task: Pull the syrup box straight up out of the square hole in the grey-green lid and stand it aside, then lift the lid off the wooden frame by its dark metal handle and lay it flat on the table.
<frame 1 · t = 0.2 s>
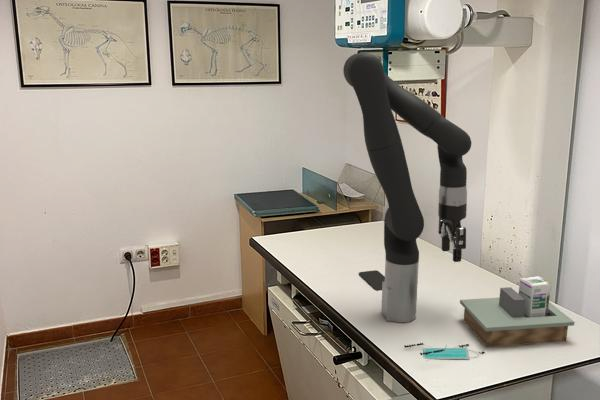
hand: (451, 256, 168), 18 cm above the table, tool pointing down, fingers open, 8 cm apart
phone: (376, 282, 196), on the table
lid: (514, 313, 161), point 5 cm above the table, touching wooden frame
surgical mask: (443, 355, 151), on the table
syrup box: (530, 330, 163), resting in wooden frame
wooden frame: (513, 330, 162), on the table
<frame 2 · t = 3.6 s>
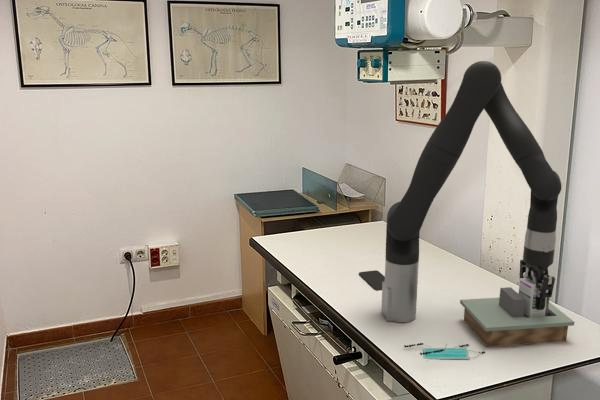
hand: (533, 303, 161), 8 cm above the table, tool pointing down, fingers closed on syrup box, 6 cm apart
syrup box: (530, 330, 163), resting in wooden frame, touching gripper
everything else where it was.
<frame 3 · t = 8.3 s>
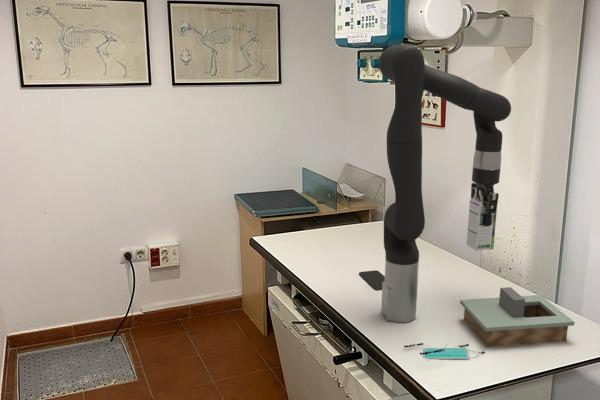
hand: (481, 222, 173), 25 cm above the table, tool pointing down, fingers closed on syrup box, 6 cm apart
syrup box: (479, 247, 175), point 17 cm above the table, touching gripper
everything else where it was.
when the fingers open (9 cm above the table, at t = 13.4 s): syrup box drops 1 cm, on the table.
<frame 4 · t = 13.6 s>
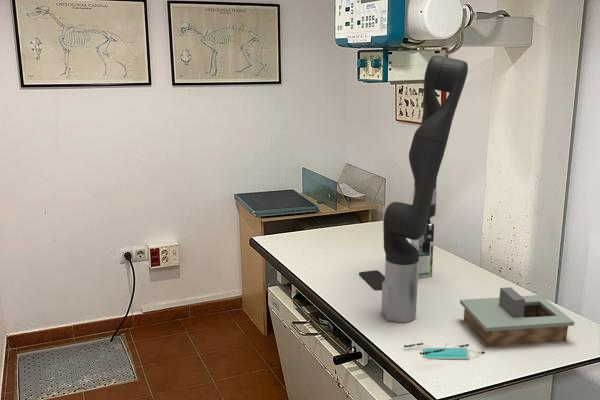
hand: (421, 248, 198), 10 cm above the table, tool pointing down, fingers open, 8 cm apart
syrup box: (420, 275, 201), on the table
everything else where it was.
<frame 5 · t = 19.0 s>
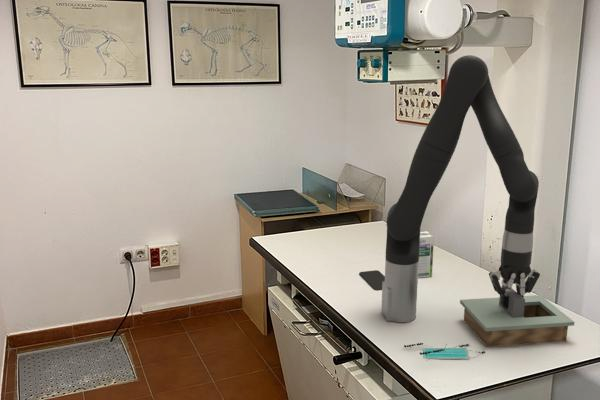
hand: (511, 306, 160), 7 cm above the table, tool pointing down, fingers closed on lid, 3 cm apart
lid: (514, 313, 161), point 5 cm above the table, touching gripper, wooden frame
everything else where it was.
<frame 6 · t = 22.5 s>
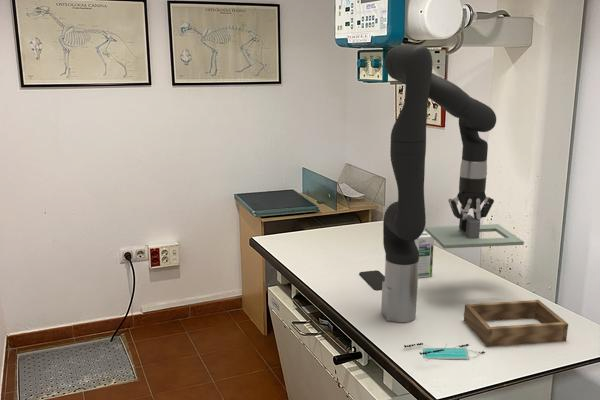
hand: (468, 230, 179), 21 cm above the table, tool pointing down, fingers closed on lid, 3 cm apart
lid: (472, 237, 179), point 19 cm above the table, touching gripper
everything else where it was.
when the fingers open (3 cm above the table, at t = 26.3 s): lid stays where it is, on the table.
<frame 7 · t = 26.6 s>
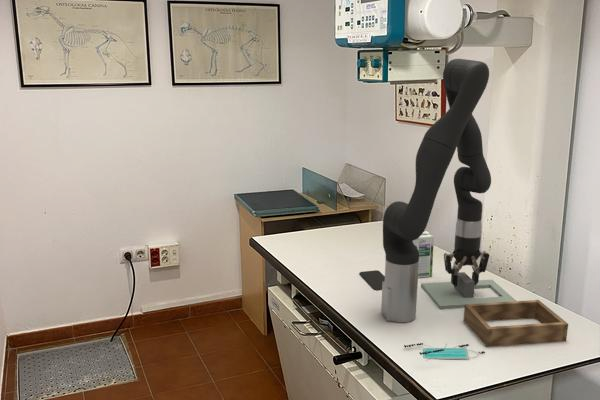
hand: (464, 284, 184), 4 cm above the table, tool pointing down, fingers open, 5 cm apart
lid: (467, 295, 185), on the table
everything else where it was.
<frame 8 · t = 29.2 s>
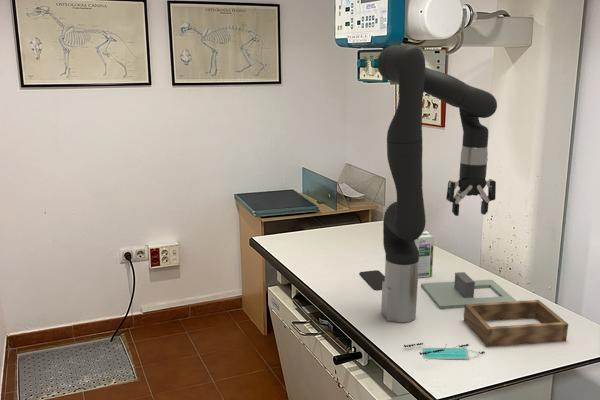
hand: (469, 214, 178), 26 cm above the table, tool pointing down, fingers open, 8 cm apart
nothing on the table moved.
at the end: syrup box inside the target area (0.2 cm from its centre), on the table; syrup box tilted 0°; lid inside the target area (0.0 cm from its centre), on the table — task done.
